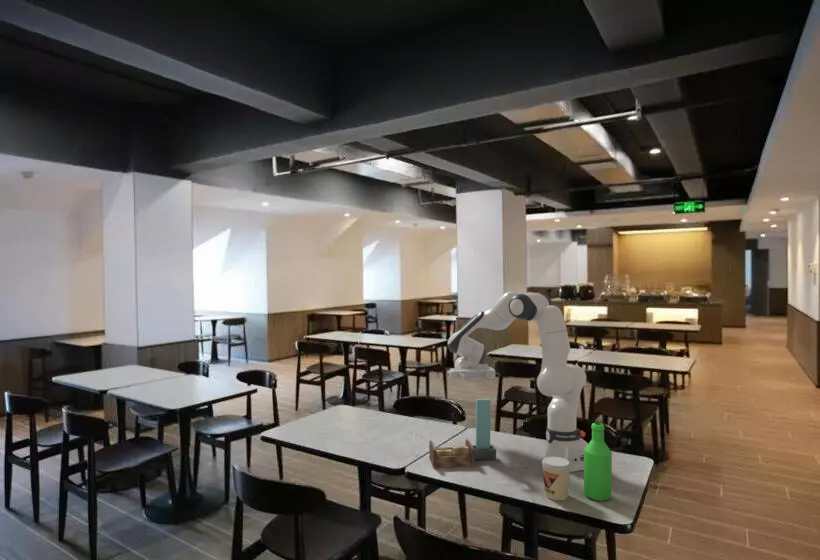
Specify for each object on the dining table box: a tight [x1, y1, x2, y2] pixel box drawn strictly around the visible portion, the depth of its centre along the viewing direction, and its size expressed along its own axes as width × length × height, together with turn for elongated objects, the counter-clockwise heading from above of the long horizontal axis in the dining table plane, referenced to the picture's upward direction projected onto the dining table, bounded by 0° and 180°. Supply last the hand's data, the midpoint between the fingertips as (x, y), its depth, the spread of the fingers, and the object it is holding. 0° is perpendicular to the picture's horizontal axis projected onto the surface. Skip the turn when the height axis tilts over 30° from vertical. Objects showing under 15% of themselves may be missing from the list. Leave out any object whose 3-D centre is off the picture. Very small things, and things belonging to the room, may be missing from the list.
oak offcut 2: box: [452, 445, 468, 455], centre depth 193 cm, size 6×2×6 cm, turn 96°
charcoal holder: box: [471, 444, 497, 463], centre depth 199 cm, size 10×6×6 cm, turn 96°
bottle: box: [583, 422, 613, 501], centre depth 168 cm, size 9×9×25 cm
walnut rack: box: [428, 438, 475, 470], centre depth 195 cm, size 16×11×8 cm
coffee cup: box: [541, 456, 571, 501], centre depth 169 cm, size 9×9×12 cm
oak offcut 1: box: [436, 449, 452, 456], centre depth 193 cm, size 6×2×6 cm, turn 96°
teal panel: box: [475, 398, 491, 449], centre depth 199 cm, size 6×2×24 cm, turn 96°
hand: (475, 377), depth 211 cm, fingers open, 8 cm apart
